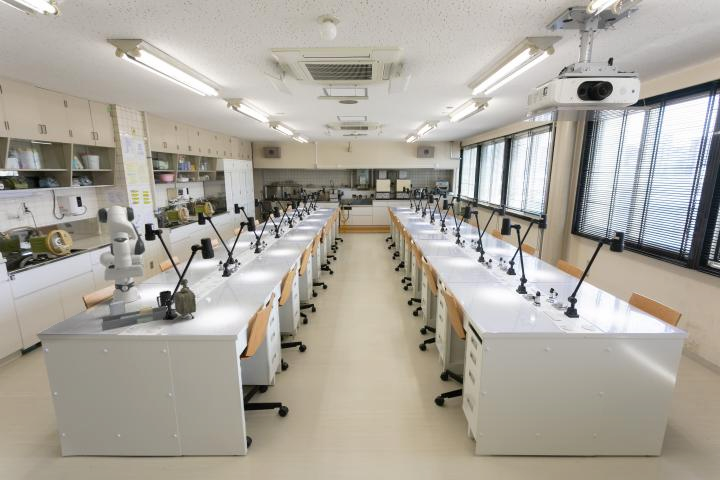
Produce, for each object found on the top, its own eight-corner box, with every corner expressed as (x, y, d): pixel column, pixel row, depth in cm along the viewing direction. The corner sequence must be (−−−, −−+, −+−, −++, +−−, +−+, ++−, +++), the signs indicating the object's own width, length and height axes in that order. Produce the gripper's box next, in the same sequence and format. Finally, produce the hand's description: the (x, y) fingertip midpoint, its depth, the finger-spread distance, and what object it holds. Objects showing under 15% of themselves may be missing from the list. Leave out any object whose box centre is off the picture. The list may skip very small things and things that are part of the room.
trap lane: (103, 324, 209) (102, 317, 208) (167, 312, 229) (166, 305, 228) (102, 330, 201) (101, 322, 200) (168, 317, 221) (168, 310, 220)
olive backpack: (196, 318, 220) (194, 282, 215) (182, 322, 213) (178, 285, 209) (189, 312, 230) (186, 277, 226) (175, 316, 224) (172, 280, 219)
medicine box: (124, 312, 229) (122, 300, 227) (126, 314, 226) (124, 302, 224) (110, 315, 223) (108, 303, 221) (112, 317, 220) (110, 305, 218)
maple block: (139, 314, 217) (139, 308, 217) (152, 312, 221) (151, 306, 221) (140, 317, 213) (139, 310, 213) (153, 315, 217) (152, 308, 217)
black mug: (167, 305, 242) (166, 290, 240) (174, 307, 239) (173, 291, 237) (154, 310, 232) (152, 294, 230) (161, 312, 230) (160, 295, 228)
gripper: (142, 260, 216) (144, 280, 219) (103, 264, 204) (105, 286, 207) (143, 262, 211) (145, 283, 214) (102, 267, 199) (105, 288, 202)
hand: (125, 284), depth 210 cm, fingers closed
